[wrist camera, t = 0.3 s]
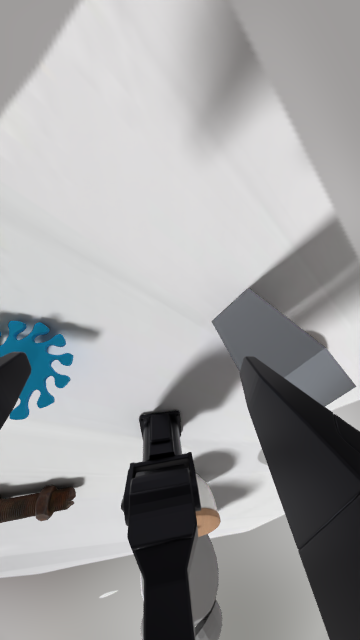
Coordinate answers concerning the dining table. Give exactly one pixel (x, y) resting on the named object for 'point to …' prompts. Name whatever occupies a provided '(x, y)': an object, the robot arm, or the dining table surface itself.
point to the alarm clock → (202, 591)
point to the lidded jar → (206, 509)
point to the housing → (281, 347)
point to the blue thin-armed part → (36, 364)
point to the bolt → (37, 504)
